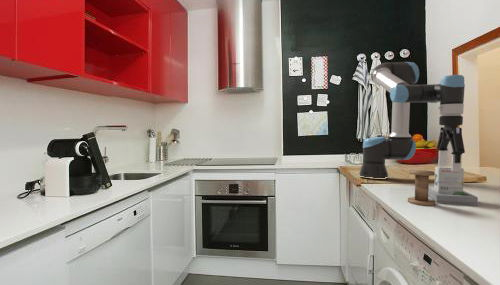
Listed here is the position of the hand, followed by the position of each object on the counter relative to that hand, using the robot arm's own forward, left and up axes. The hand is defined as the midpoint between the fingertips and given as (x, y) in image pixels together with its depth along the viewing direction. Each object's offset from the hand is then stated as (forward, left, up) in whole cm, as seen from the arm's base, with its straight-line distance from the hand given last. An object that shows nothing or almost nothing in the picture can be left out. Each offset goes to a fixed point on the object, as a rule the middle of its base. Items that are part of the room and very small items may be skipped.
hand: (448, 168), depth 111 cm
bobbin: (+9, -12, -12) cm, 19 cm away
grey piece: (+1, 0, -12) cm, 12 cm away
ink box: (0, 0, -11) cm, 11 cm away
